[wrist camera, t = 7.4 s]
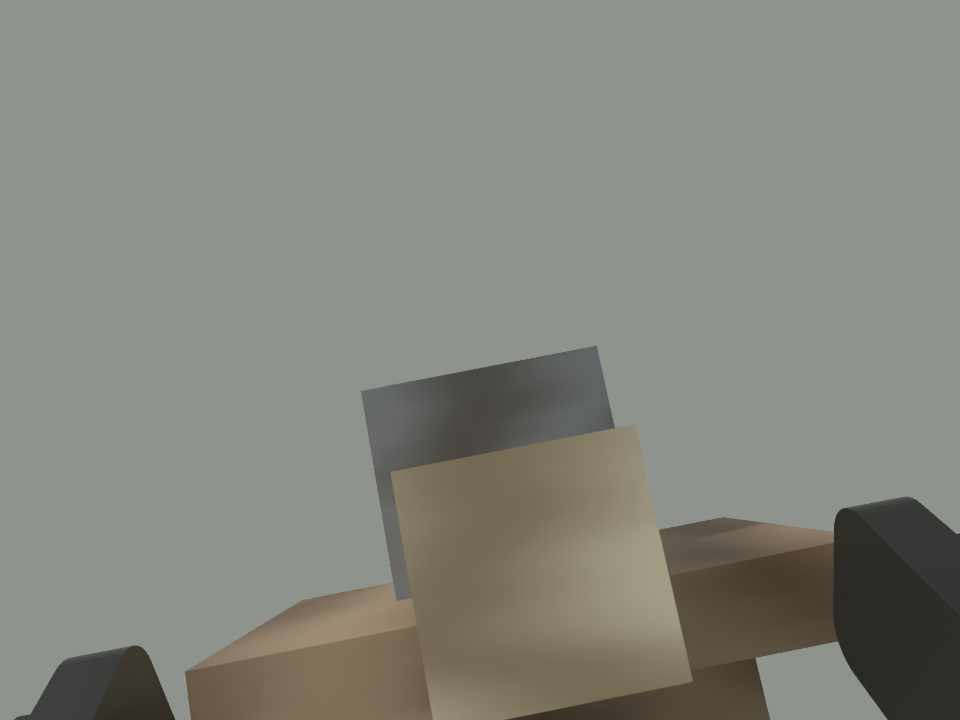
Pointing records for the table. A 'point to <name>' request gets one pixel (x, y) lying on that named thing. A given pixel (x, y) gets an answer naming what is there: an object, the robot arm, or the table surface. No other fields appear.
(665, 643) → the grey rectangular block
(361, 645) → the walnut stand
